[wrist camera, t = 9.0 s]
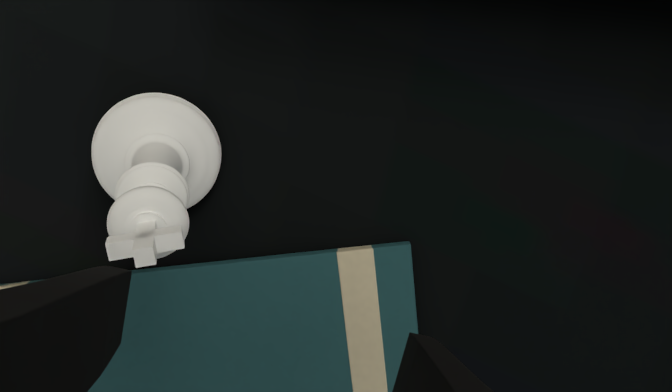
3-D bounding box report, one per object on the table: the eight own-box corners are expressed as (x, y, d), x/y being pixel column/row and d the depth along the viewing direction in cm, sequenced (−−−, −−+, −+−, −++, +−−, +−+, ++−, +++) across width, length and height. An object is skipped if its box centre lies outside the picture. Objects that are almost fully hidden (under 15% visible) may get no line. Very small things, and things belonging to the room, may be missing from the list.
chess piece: (78, 98, 19) (-14, 165, 10) (212, 86, 20) (242, 135, 11) (106, 220, 20) (49, 375, 11) (228, 201, 22) (266, 327, 13)
